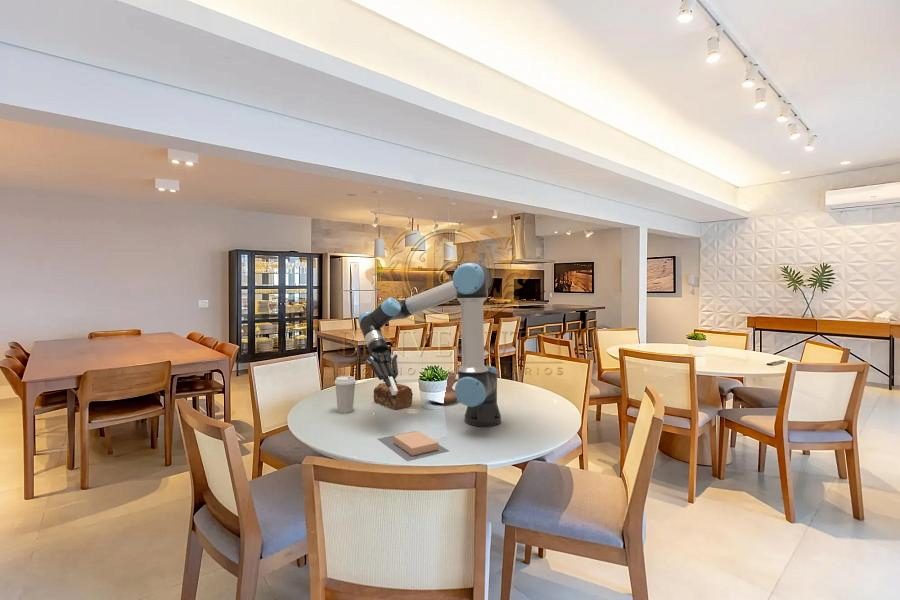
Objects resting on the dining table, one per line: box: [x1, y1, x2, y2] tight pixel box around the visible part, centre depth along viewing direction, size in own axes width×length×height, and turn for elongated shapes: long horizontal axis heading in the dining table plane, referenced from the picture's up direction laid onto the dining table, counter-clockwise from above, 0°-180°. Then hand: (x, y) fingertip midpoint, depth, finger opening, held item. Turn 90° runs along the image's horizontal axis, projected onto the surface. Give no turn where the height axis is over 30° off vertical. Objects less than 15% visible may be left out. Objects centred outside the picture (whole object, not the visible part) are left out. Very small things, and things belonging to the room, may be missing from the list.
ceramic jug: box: [444, 370, 458, 405], centre depth 209 cm, size 18×14×14 cm
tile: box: [392, 430, 439, 456], centre depth 148 cm, size 3×10×14 cm
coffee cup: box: [333, 375, 357, 414], centre depth 193 cm, size 10×10×15 cm
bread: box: [373, 382, 414, 410], centre depth 205 cm, size 19×11×10 cm, turn 41°
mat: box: [377, 430, 450, 462], centre depth 151 cm, size 24×16×1 cm, turn 33°
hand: (395, 393), depth 161 cm, fingers closed
